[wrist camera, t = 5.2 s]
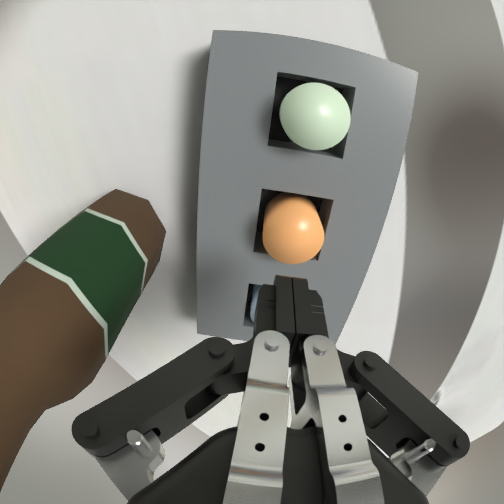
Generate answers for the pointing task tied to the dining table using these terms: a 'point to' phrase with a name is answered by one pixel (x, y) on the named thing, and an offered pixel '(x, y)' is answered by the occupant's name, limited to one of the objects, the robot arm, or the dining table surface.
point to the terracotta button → (292, 228)
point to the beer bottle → (70, 309)
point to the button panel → (292, 172)
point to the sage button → (315, 116)
